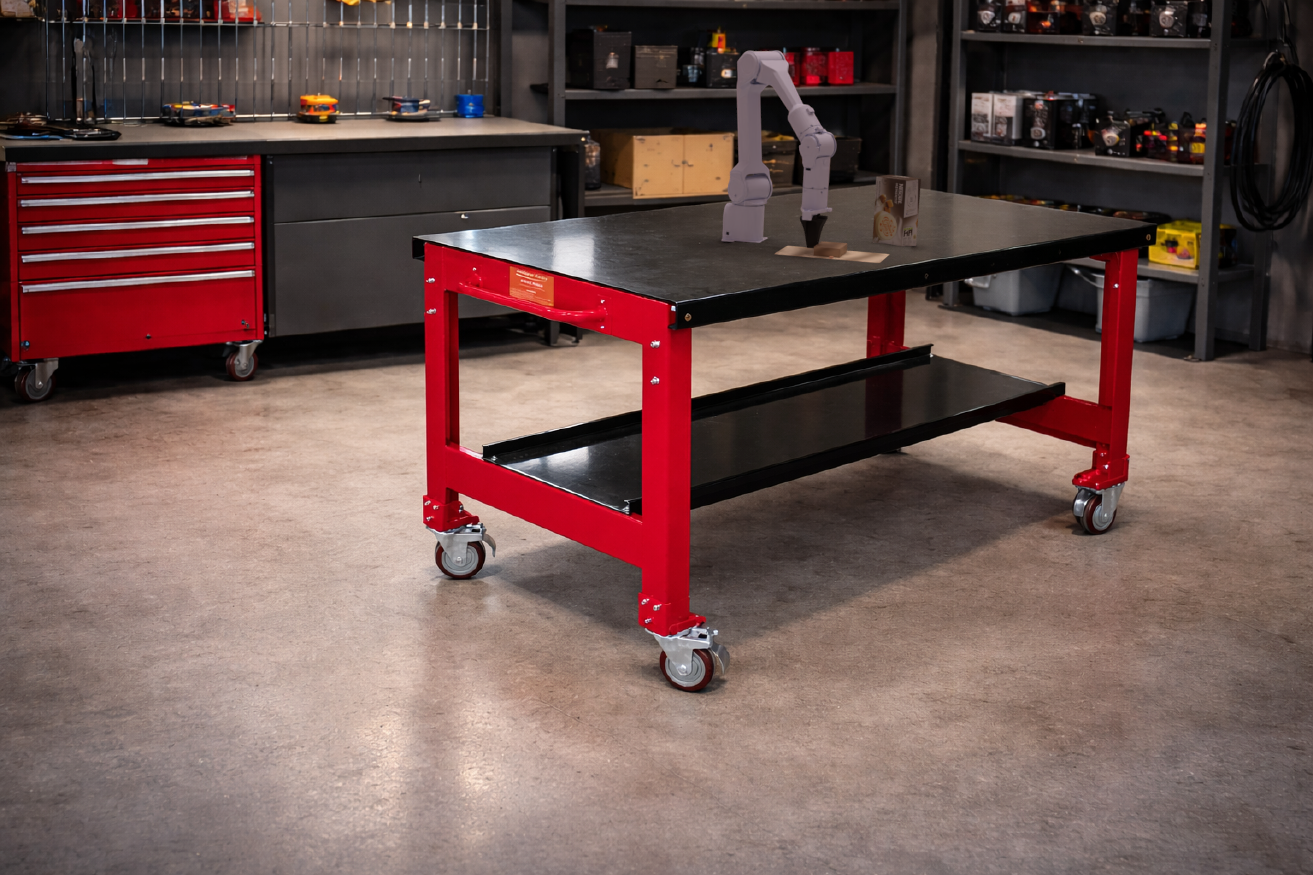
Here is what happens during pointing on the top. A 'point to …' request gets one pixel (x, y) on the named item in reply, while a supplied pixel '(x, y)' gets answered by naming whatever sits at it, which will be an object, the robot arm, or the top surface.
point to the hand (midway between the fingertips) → (812, 247)
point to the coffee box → (896, 210)
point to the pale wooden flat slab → (847, 256)
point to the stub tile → (830, 249)
